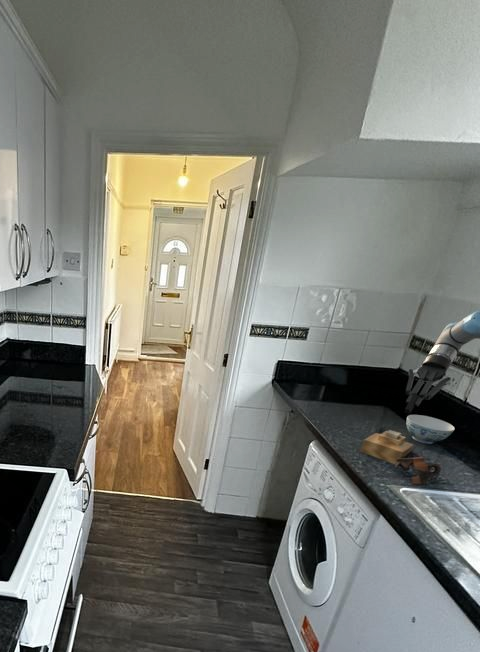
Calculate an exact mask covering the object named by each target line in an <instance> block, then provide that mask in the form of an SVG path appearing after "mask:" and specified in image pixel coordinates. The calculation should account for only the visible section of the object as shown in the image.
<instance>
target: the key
mask: <svg viewBox="0 0 480 652" xmlns="http://www.w3.org/2000/svg"><path fill="white" fill-rule="evenodd" d="M385 436H387V437H391V438H394V439H399V438H400V436H402V433H401V432H398V431H395V430H391V429H389V430H387V432H386V435H385Z"/></svg>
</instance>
